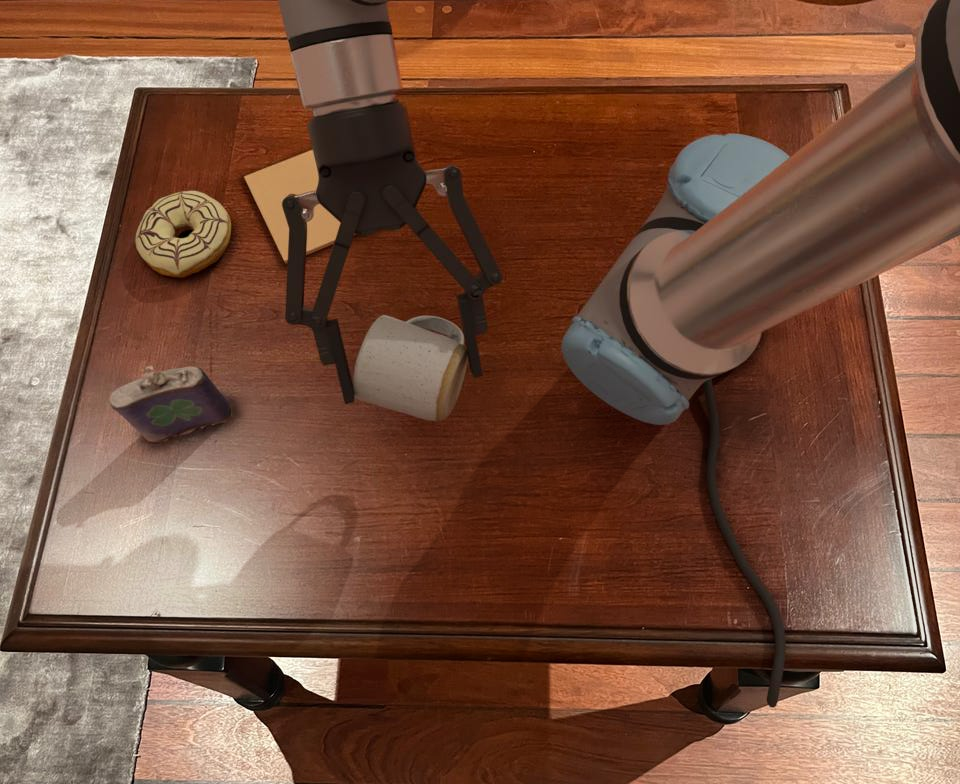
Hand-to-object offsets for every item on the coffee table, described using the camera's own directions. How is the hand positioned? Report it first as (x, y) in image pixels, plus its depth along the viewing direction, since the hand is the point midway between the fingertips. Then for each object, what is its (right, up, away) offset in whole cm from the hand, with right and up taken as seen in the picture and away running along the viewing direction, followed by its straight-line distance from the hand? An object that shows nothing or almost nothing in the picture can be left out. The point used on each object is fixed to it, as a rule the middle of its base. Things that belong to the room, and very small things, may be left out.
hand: (413, 385), depth 67 cm
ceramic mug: (0, +1, +5) cm, 5 cm away
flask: (-25, -4, +17) cm, 30 cm away
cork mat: (-14, +23, +29) cm, 39 cm away
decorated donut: (-29, +17, +27) cm, 43 cm away
